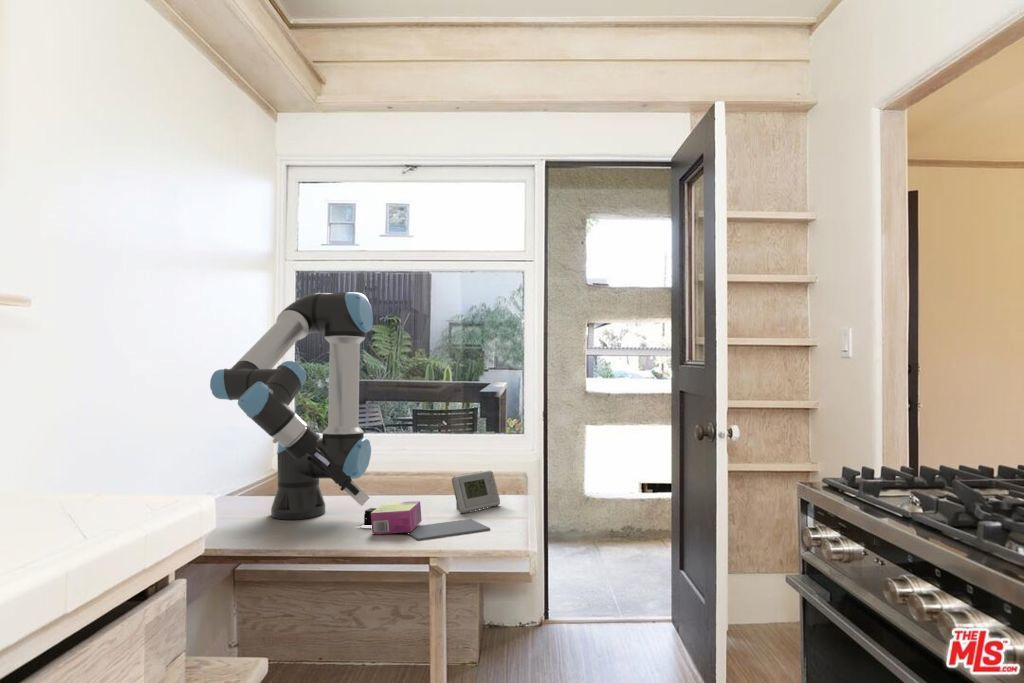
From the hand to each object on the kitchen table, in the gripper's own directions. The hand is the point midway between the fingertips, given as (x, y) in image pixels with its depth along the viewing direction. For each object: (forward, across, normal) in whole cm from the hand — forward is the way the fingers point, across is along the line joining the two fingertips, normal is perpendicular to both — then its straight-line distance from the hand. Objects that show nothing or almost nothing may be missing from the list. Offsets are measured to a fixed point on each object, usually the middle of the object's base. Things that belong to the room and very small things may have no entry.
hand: (364, 501), depth 164 cm
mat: (+22, 0, +9) cm, 24 cm away
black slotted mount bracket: (+13, -16, -2) cm, 21 cm away
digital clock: (+35, -18, +21) cm, 45 cm away
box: (+10, -3, 0) cm, 10 cm away
